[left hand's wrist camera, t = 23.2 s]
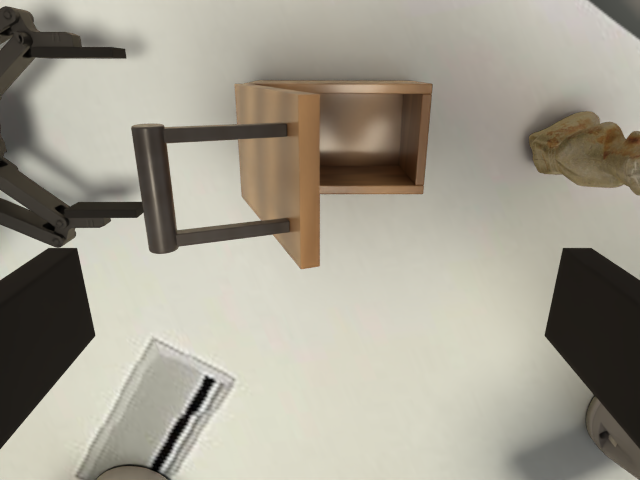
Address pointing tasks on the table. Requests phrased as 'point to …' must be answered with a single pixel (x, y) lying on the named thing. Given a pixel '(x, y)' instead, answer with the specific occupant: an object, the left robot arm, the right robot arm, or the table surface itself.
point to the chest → (369, 133)
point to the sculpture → (588, 152)
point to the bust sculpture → (131, 474)
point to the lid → (245, 173)
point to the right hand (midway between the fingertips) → (131, 135)
